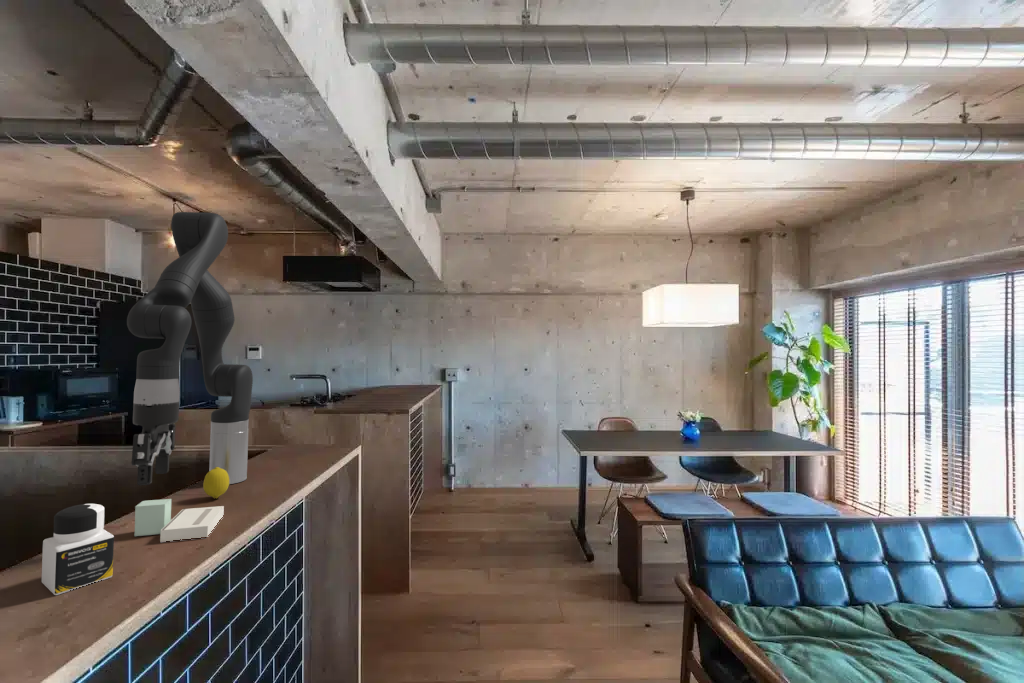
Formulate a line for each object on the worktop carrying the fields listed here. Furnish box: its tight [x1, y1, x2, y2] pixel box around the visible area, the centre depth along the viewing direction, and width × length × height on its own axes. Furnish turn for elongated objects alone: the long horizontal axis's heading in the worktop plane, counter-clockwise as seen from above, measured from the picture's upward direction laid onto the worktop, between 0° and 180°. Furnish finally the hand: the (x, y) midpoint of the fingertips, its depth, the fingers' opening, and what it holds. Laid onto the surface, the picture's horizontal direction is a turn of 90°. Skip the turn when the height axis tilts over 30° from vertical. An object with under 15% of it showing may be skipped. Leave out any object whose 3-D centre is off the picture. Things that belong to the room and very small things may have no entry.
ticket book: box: [159, 505, 225, 543], centre depth 97 cm, size 12×8×2 cm, turn 19°
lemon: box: [202, 467, 230, 499], centre depth 115 cm, size 6×6×8 cm
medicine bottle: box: [41, 503, 115, 596], centre depth 75 cm, size 7×7×12 cm
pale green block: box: [133, 498, 172, 537], centre depth 94 cm, size 4×5×6 cm
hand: (153, 478), depth 94 cm, fingers open, 8 cm apart
